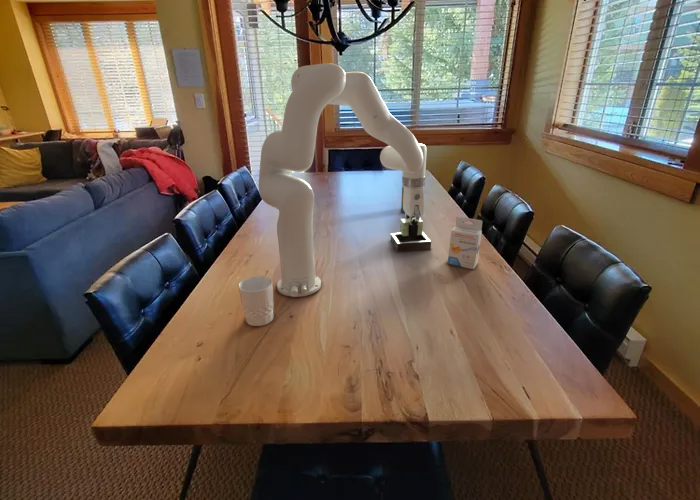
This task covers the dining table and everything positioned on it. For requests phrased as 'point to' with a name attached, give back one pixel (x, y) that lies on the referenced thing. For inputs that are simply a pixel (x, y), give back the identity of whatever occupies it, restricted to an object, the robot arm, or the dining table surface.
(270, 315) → the white cup
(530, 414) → the dining table surface
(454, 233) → the ink box
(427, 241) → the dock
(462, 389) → the dining table surface
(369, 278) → the dining table surface
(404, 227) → the light green block
